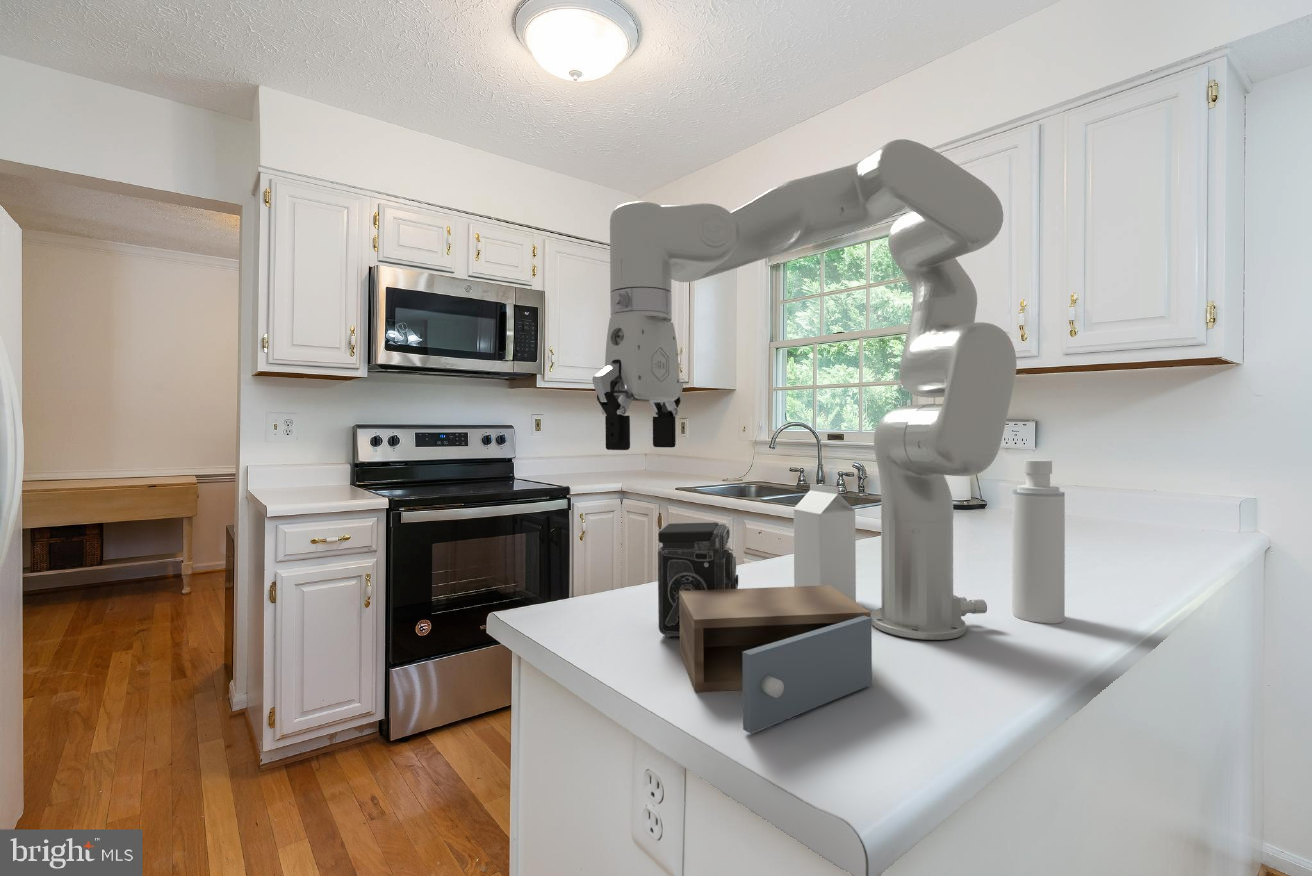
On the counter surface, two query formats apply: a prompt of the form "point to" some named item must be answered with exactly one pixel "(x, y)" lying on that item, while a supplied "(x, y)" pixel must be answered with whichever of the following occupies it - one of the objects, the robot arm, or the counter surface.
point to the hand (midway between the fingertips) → (642, 448)
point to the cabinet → (750, 626)
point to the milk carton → (825, 541)
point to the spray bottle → (1038, 547)
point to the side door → (805, 672)
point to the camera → (691, 566)
